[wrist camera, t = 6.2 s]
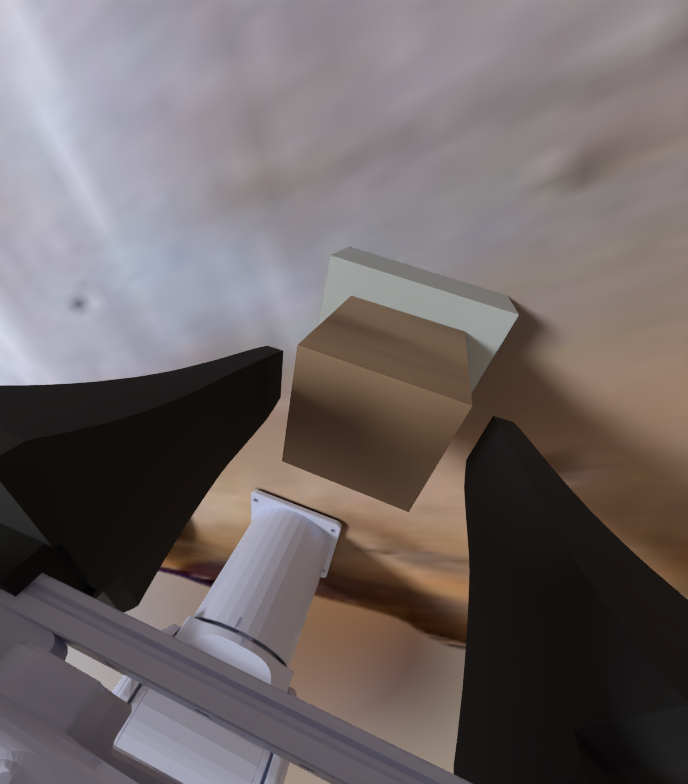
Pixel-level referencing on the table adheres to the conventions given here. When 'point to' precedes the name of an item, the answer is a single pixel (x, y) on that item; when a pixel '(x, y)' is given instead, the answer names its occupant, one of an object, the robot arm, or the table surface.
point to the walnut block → (377, 400)
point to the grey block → (423, 300)
